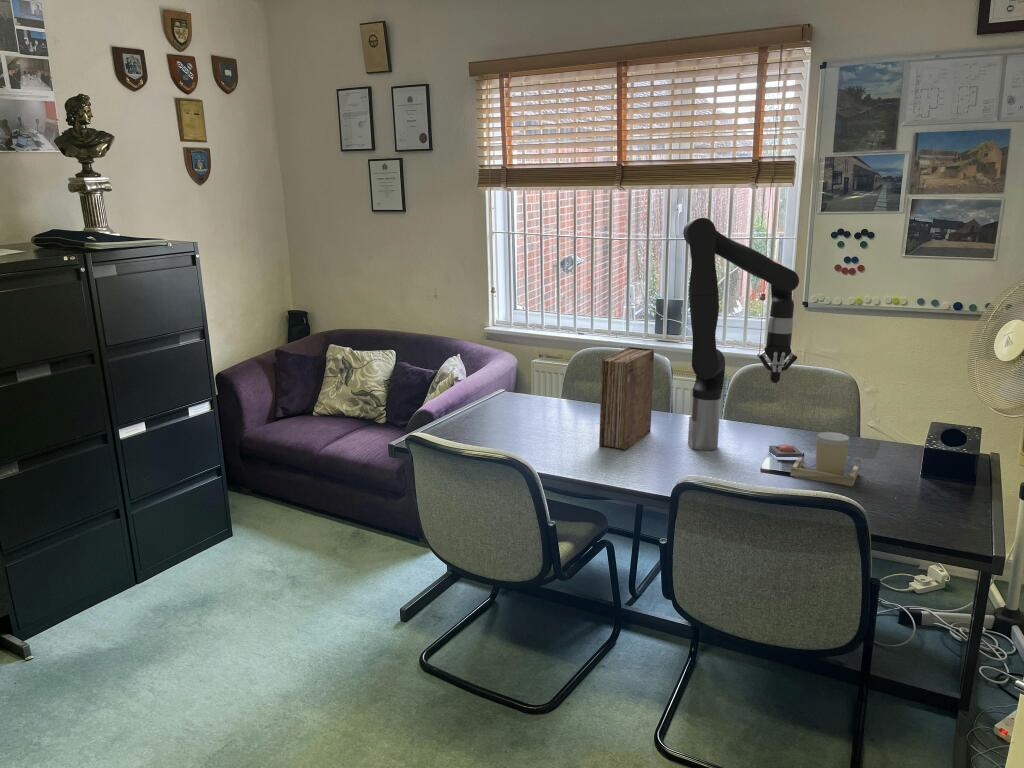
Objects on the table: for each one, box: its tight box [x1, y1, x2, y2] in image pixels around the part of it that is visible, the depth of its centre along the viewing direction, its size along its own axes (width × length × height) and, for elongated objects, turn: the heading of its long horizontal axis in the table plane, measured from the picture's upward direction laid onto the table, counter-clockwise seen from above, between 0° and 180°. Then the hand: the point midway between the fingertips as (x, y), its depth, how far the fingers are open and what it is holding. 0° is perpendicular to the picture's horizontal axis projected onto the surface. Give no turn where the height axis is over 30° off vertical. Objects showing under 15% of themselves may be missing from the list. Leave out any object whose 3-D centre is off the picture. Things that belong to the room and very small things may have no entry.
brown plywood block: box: [598, 346, 655, 452], centre depth 259 cm, size 25×9×30 cm, turn 151°
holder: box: [790, 457, 859, 487], centre depth 228 cm, size 12×17×2 cm
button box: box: [768, 445, 804, 458], centre depth 245 cm, size 8×8×2 cm
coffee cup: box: [815, 431, 851, 475], centre depth 228 cm, size 9×9×12 cm
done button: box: [778, 444, 794, 452], centre depth 245 cm, size 4×4×3 cm
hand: (774, 382), depth 250 cm, fingers closed
